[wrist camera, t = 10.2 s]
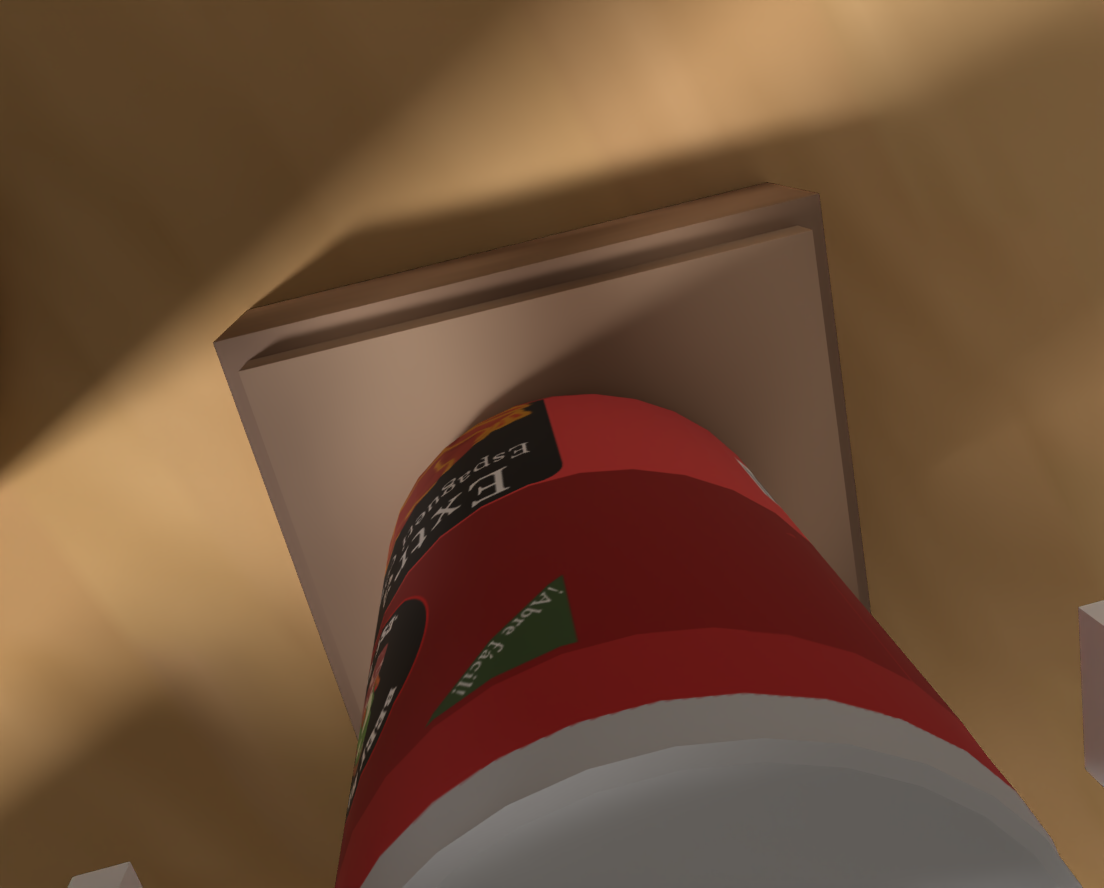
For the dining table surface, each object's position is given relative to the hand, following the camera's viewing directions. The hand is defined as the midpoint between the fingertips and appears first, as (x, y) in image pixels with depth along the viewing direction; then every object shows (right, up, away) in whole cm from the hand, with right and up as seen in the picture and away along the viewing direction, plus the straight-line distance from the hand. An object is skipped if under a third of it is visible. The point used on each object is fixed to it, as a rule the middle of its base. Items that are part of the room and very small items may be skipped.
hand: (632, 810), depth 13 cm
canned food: (-1, +3, +7) cm, 7 cm away
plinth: (-1, +4, +10) cm, 11 cm away
